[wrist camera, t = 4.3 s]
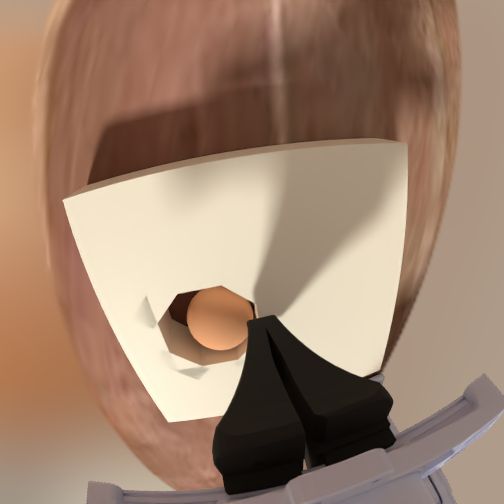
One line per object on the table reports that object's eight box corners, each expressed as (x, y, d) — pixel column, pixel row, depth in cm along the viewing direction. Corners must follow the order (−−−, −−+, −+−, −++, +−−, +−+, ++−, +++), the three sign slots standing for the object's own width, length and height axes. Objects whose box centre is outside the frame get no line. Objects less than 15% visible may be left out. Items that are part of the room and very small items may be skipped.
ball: (169, 337, 15) (214, 328, 18) (214, 369, 13) (258, 352, 16) (178, 276, 15) (224, 275, 17) (228, 301, 12) (272, 294, 15)
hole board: (362, 345, 21) (380, 370, 19) (168, 391, 19) (168, 422, 17) (374, 137, 14) (407, 142, 12) (86, 185, 13) (62, 199, 10)
